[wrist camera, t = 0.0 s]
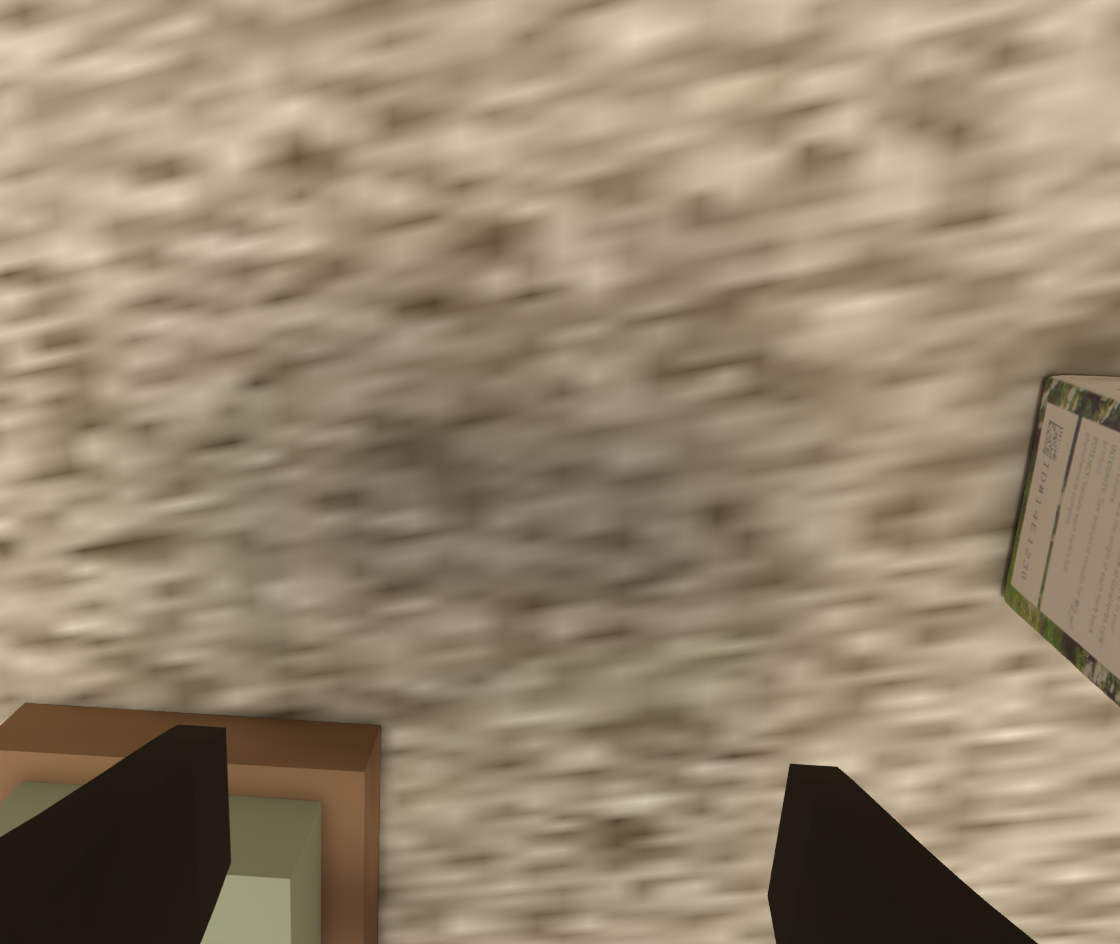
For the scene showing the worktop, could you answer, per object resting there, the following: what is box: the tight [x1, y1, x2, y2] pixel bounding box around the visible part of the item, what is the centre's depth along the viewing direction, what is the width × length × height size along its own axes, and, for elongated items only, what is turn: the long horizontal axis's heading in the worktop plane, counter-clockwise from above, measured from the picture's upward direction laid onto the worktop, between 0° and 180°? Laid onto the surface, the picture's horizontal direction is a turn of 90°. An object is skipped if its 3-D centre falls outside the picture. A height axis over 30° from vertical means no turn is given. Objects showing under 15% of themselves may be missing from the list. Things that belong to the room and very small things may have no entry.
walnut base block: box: [0, 703, 381, 944], centre depth 23 cm, size 9×9×2 cm
